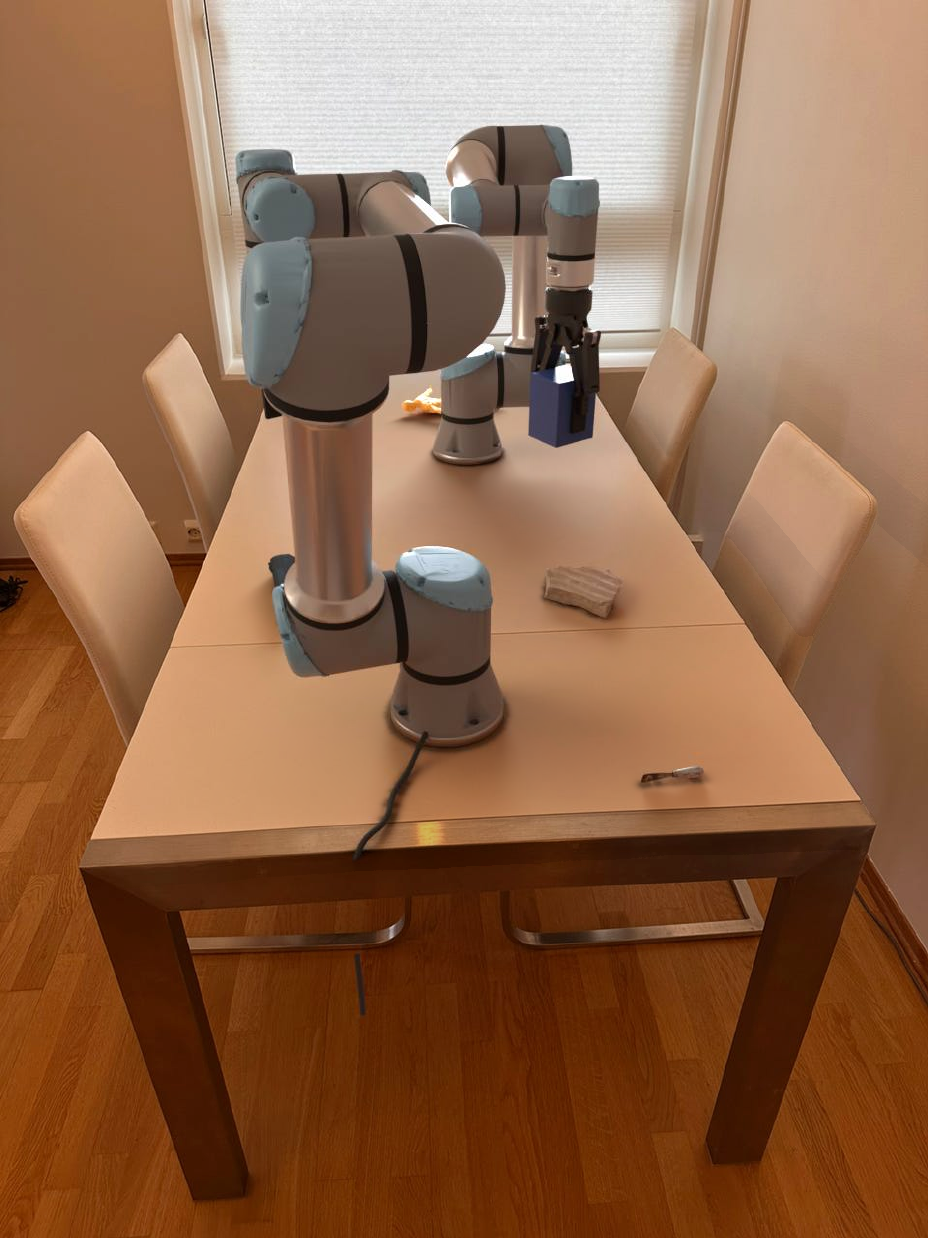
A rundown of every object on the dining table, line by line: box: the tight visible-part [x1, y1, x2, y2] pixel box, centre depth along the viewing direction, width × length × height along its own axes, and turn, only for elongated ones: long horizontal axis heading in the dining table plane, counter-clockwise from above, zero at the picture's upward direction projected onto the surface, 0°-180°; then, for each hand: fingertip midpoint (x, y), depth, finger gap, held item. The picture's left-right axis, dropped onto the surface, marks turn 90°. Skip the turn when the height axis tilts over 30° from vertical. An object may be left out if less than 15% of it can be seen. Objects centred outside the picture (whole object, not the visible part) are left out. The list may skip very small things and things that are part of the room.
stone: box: [544, 565, 622, 619], centre depth 147 cm, size 13×12×2 cm
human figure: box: [402, 385, 441, 415], centre depth 225 cm, size 20×20×4 cm
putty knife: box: [640, 765, 705, 784], centre depth 109 cm, size 1×8×2 cm, turn 103°
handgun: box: [267, 553, 295, 588], centre depth 148 cm, size 3×18×12 cm
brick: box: [527, 364, 597, 449], centre depth 152 cm, size 8×7×11 cm
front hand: (294, 429), depth 132 cm, fingers open, 13 cm apart
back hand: (561, 424), depth 153 cm, fingers closed on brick, 7 cm apart
